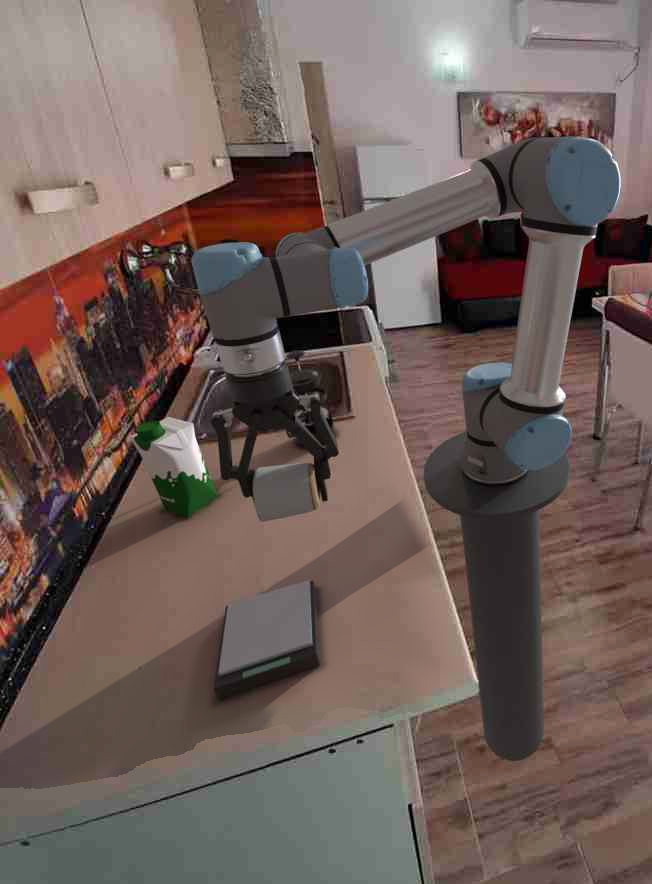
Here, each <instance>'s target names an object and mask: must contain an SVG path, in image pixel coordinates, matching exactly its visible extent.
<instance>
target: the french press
mask: <svg viewBox="0 0 652 884" xmlns="http://www.w3.org/2000/svg"><path fill="white" fill-rule="evenodd" d="M305 355H306V351H305V350H293V351H290V352H288V353H287V354H285V358H287V359H294V362H296V363H297V364H296V365H297V367H298V370H294V371H292V372H289V373H290V377H291V381H292V385H293V389H294V390H295V392H296V393H298V395H299V396H301V395H308V394H307V393H312V392H318V393H322V394H323V395H322V396H320V405H321V404H323V403H325V406H326V408H325V407H322V406H320V408H321V410H322V412H323V414H324V416H325V418H326V420H327V422H328V425H329V427H330V429H331V431H332V433H333V435H334V437H335V438H337V430H336V428H335V425H334V421H333V416H332V413H331V407H330V403H329V399H328V395H327V390H326V389H325V388H323V387H321V386H320V384H321V378H322V376H323V374H322V372H321V370H319V369H317V368H304V369H301V366H300V358H302V357H304V356H305ZM297 410H298V411H299V410H300V411H299V412H297V413H295V414H296V415H297V417H298V418H299V420H300V422H301V423H302V424H303V425H304V426H305V427H306V428H307V429H308V430H309V432H310V433H311V432H314V431H315V434H314V435H313V434H312V435H313V436H314V437H315V438H316V439H317V440H318V442H319V443H320V444H321V445H322V446H323V447H324V446H326V445H325V443H324V441H323V439H322V437H321V435H320V433H319V431H318V429H317V427H316V425H315V422H314V420H313V418H312V415H311V411H310V412H309V411H307V410H305V408H304V406H303V405H299V406H298V408H297ZM297 410H296V411H297ZM284 431H285V434H286V436H287V437H288V439H292V438H296V437H295V436H294V435H293V434H292V433H289V432H288V430H287V429H286V428H285V427H284ZM296 444H297V445H298V447H300V448H303V449H306V448H305V447H304V446H303V445H302V444H301V443H300V442H299V440H298V439H297V438H296Z"/></svg>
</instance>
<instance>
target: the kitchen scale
mask: <svg viewBox="0 0 652 884" xmlns="http://www.w3.org/2000/svg"><path fill="white" fill-rule="evenodd" d="M318 616H319V614H318V596H317V588H316V585H315V581H314V579H311V580H310V579H307V580H305V581H301V582H297V583H294V584H290V585H287V586H284V587H282V588H277V589H274V590H271V591H267V592H263V593H261V594H256V595H254V596H250V597H247V598H243V599H241V600H237V601H234V602H230V603H227V605H225V610H224V617H223V624H222V630H221V637H220V644H219V645H220V646H219V651H218V652H219V653H218V659H217V665H216V666H217V668H216V671H215V672H216V674H215V679H214V680H215V681H214V687H213V689H214V691H215V693H216V696H217V697H218V700H219V701H220V700H224V699H227V698H230V697H232V696H236V695H238V694H241V693H244V692H247V691H249V690H252V689H257V688H258V687H261V686H264V685H268V684H270V683H273V682H276V681H279V680H281V679H282V680H283V679H285V678H287V677H290V676H293V675H296V674H299V673H302V672H305V671H308V670H311V669H314V668H317V667H319V666H321V652H320V636H319V635H320V634H319V617H318Z"/></svg>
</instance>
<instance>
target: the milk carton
mask: <svg viewBox="0 0 652 884" xmlns="http://www.w3.org/2000/svg"><path fill="white" fill-rule="evenodd" d="M134 430H135V432H136V433H134V434H132V435H130V436H129V438H130V440H131V442H132V443H133V445H134V446H135V449H136V450H137V451H138V453H139V455H140V457H141V458H142V461H143V462H144V465H145V467H146V469H147V471H148V474H149V476H150V478H151V480H152V483H153V486H154V488H155V489H156V492H157V494H158V497H159V499H160V501H161V504H162V506H163V508H164V510H165V511H168V512H171V513H174V514H177V515H180V516H182V517H184V518H190V517H191V516H192V515H194V514H195V513H197V512H198V511H200V510H201V509H202V508H204V507H205V506H206V505H208V504H209V503H210V502H212V501H213V500H215V499H216V498H217V497H218V496H219V495H218V493H217V490H216V488H215V486H214V483H213V480H212V477H211V476H210V473H209V470H208V467H207V465H206V462H205V459H204V457H203V454H202V452H201V449H200V446H199V444H198V441H197V438H196V433H195V426H194V423H193V422H190V421H185V420H182V419H177V418H174V417H169V416H167V417H166V418H163V419H161V420H149V421H145V422H143V423H141V424H138V425H137V427H135V429H134Z"/></svg>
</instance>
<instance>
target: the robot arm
mask: <svg viewBox="0 0 652 884" xmlns="http://www.w3.org/2000/svg"><path fill="white" fill-rule="evenodd" d="M620 191H621V174H620V168H619V165H618V163H617V160H616V159H615V158H614V156H613V154H612V152H611V151H610V149H609V148H608V147H607V146H606V145H604V144H603V143H602V142H600V141H598V140H597V139H593V138H587V137H582V136H580V135H578V136H572V135H569V136H568V135H567V136H555V137H554V136H553V137H552V136H551V137H541V136H539V137H531V138H527V139H523V140H521V141H518V142H516V143H513V144H512V145H509V146H507V147H505V148H502V149H500V150H497V151H495V152H493V153H491V154H489V155H487V156H484V157H482V158H479V159H477V160H474V161H472V162H471V163H470V165H469V167H468V169H467V171H463V172H461V173H459V174H457V175H454V176H451V177H448V178H445V179H443V180H440V181H437V182H435V183H432V184H430V185H428V186H425V187H423V188H420V189H417V190H414V191H412V192H410V193H407V194H404V195H401V196H399V197H397V198H394V199H391V200H389V201H385V202H383V203H381V204H378V205H376V206H373V207H371V208H368V209H365V210H363V211H359V212H357V213H355V214H352V215H350V216H347V217H344V218H341V219H339V220H337V221H334V222H331V223H329V224H326V225H324V226H321V227H318V228H316V229H313V230H310V231H308V232H292V233H290V234H287V235H285V236H284V237H283V238H282V239H281V240H280V241H279V243H278V244H277V246H276V250H275V256H271V257H269V256H265V257H264V256H263V254H262V253H261V252H260V249H259V247H258V245H256V244H254V243H252V242H247V241H239V242H223V243H217V244H213V245H207V246H204V247H202V248H199V249H198V250H196V251H195V252H194V253H193V255H192V257H191V261H190V263H191V265H192V269H193V274H194V277H195V278H194V279H195V282H196V286H197V291H198V292H197V293H198V294H199V297H200V300H201V303H202V306H203V309H204V313H205V316H206V319H207V322H208V325H209V328H210V331H211V334H212V337H213V339H214V340H213V341H214V344H215V347H216V351H217V354H218V357H219V361H220V364H221V367H222V370H223V371H224V372H226V374H225V380H226V383H227V386H228V390H229V393H230V396H231V399H232V407H231V408H227V409H225V410H222V409H221V408H216V409H215V410H214V411H213V413H212V415H211V419H210V423H211V425H212V427H213V429H214V430H215V432H216V434H217V435H216V436H217V447H218V459H219V469H220V479H221V480H223V481H229V480H231V479H233V480H236V481H238V483H239V487H240V490H241V493H242V496H243V497H244V498H245V499H246V498H251V500H252V502H253V506H255V504H254V498H253V478H254V473H255V471H256V469H255V468H253V469H249V468H250V465H251V460H252V456H253V452H254V448H255V444H256V440H257V438H258V433H260V434H261V433H266V432H269V431H271V430H281V429H285V428H286V429H287V430H288V432H289V434H290V433H292V434H293V435H294V436H295V437H294V438H295V439H296V440H297V439H298V440H299V442H300V443H301V444H302V445H303V446H304V447H305V448H304V449H306V450H307V451H308V452H309V453H310V454H311V456H312V457H313V464H314V469H315V473H316V477H317V481H318V485H319V489H320V498H321V501H322V503H325V502H328V501H329V499H328V497H329V495H328V489H327V483H326V480H330V479H331V477H332V476H331V475H332V474H331V468H330V467H331V466H330V463H329V459H331V458H336V457H338V456H339V453H340V451H339V445H338V444H339V443H338V442H337V440H336V437H334V435H333V433H332V431H331V429H330V427H329V425H328V422H327V420H326V418H325V416H324V414H323V412H322V410H321V408H320V407H321V404H320V398H321V396H320V392H310V394H307V395H301V396H299V395H298V393H296V392H295V390H294V389H293V385H292V381H291V377H290V373H291V372H290V369H289V366H288V365H289V364H288V362H287V361H286V353H285V349H284V344H283V341H282V337H281V331H280V329H279V325H278V321H277V319H281V318H287V317H291V316H297V315H305V314H309V313H314V312H322V311H328V310H333V309H334V310H335V309H344V308H346V307H350V306H353V305H357V304H361V303H364V302H365V301H366V300H367V298H368V296H369V280H368V275H367V271H366V266H367V265H370V264H372V263H375V262H376V261H379V260H381V259H384V258H387V257H390V256H391V255H394V254H396V253H399V252H401V251H403V250H406V249H408V248H410V247H413V246H415V245H418V244H421V243H423V242H425V241H428V240H430V239H433V238H435V237H437V236H440V235H442V234H444V233H447V232H449V231H451V230H455V229H457V228H459V227H461V226H464V225H466V224H468V223H471V222H474V221H476V220H478V219H481V218H484V217H486V218H488V219H490V220H494V219H497V218H499V217H501V216H504V215H508V214H513V213H514V214H515V213H523V214H522V220H521V228H522V230H523V231H524V233H525V234H526V236H527V238H528V240H529V242H528V249H527V255H526V263H525V271H524V277H523V284H522V291H521V297H520V304H519V305H520V306H519V313H518V319H517V326H516V334H515V341H514V342H515V343H514V347H513V354H512V362H511V363H507V362H490V363H483V364H480V365H476V366H473V367H472V368H470V369H468V370H467V371H466V372H465V373H464V374H463V375H462V378H461V391H462V401H463V410H464V420H465V421H464V422H465V429H466V431H467V438H466V442H465V446H464V449H463V453H462V457H461V468H462V472H463V474H464V475H465V477H466V478H467V479H469V480H470V481H472V482H474V483H476V484H479V485H483V486H491V487H496V486H505V485H509V484H513V483H515V482H517V481H519V480H521V479H522V478H524V477H525V476H526V475H527V474H528V473H529V471H530V470H539V469H542V468H545V467H547V466H549V465H551V464H553V463H554V462H555V461H556V460H557V459H558V458H560V457H561V456H562V455H563V454H564V452H567V450H568V448H569V446H570V444H571V441H572V438H573V437H572V435H573V430H572V426H571V424H570V423H569V420H568V419H567V418H566V417H564V416H563V411H564V407H565V402H566V393H565V392H564V391H563V389H562V388H561V387H560V381H561V376H562V369H563V363H564V359H565V358H564V357H565V352H566V347H567V341H568V335H569V330H570V324H571V319H572V314H573V308H574V303H575V297H576V291H577V285H578V279H579V274H580V268H581V264H582V257H583V252H584V249H585V246H586V245H588V243H590V242H591V241H592V240H594V239H595V238H596V236H597V235H596V234H597V229H598V225H599V224H600V223H602V222H604V221H605V220H606V219H607V218H608V217H609V214H611V213H612V212H613V211H614V209H615V207H616V205H617V203H618V200H619V198H620ZM299 405H303V406H304V408H305V410H307V411H309V412H310V411H311V415H312V418H313V420H314V422H315V425H316V427H317V429H318V431H319V433H320V435H321V437H322V439H323V441H324V443H325V445H324V446H325V447H324V446H322V445H321V444H320V443H319V442H318V440H317V439H316V438H315V437H314V436H313V434H312V433H311V432H309V430H308V429H307V428H306V427H305V426H304V425H303V424H302V423H301V422H300V420H299V418H298V417H297V415H296V414H297V413H296V412H297V408H298V406H299ZM234 418H235V419H237V420H238V421H240V422H241V423H243V424H245V426H247V427H248V428H247V431H246V435H245V439H244V444H243V447H242V451H241V454H240V455H241V456H240V460H239V463H238V465H234V463H233V451H232V438H231V426H232V424H233V419H234Z"/></svg>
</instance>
